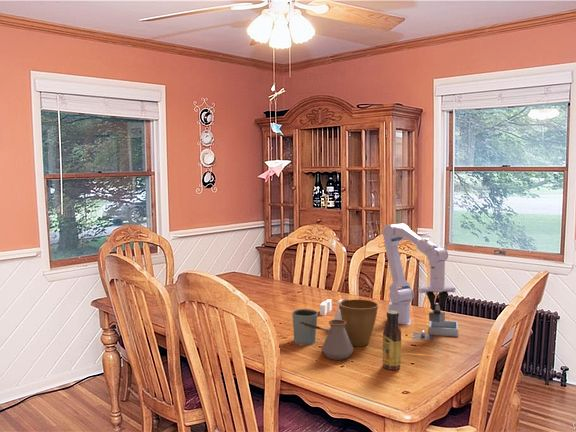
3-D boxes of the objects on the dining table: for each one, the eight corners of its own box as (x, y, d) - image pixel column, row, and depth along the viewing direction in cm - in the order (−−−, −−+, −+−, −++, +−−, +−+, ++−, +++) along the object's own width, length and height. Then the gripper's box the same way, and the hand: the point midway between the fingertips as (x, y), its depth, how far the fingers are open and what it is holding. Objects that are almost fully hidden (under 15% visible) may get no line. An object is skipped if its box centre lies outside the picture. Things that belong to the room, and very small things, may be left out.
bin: (429, 335, 216) (429, 327, 215) (430, 327, 226) (430, 319, 226) (457, 337, 213) (458, 329, 212) (457, 329, 223) (457, 321, 223)
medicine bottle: (355, 326, 230) (355, 299, 229) (350, 330, 224) (350, 303, 223) (339, 324, 233) (339, 297, 232) (334, 328, 227) (334, 301, 226)
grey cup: (288, 339, 213) (288, 310, 212) (311, 336, 217) (310, 307, 216) (299, 347, 204) (298, 317, 203) (322, 343, 208) (322, 313, 207)
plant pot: (373, 351, 198) (373, 310, 197) (335, 347, 203) (335, 306, 202) (381, 339, 212) (381, 300, 211) (344, 335, 217) (344, 297, 216)
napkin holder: (323, 318, 244) (322, 306, 244) (307, 313, 253) (307, 301, 253) (346, 312, 253) (346, 301, 253) (331, 307, 262) (330, 296, 262)
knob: (429, 320, 216) (429, 303, 216) (434, 318, 220) (434, 301, 219) (439, 322, 213) (439, 305, 213) (444, 320, 216) (444, 303, 216)
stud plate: (412, 340, 211) (412, 332, 210) (413, 334, 218) (413, 326, 218) (432, 341, 208) (432, 334, 208) (433, 335, 216) (433, 328, 216)
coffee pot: (343, 348, 202) (343, 310, 200) (359, 358, 191) (359, 318, 190) (292, 357, 193) (292, 317, 192) (306, 368, 183) (306, 326, 181)
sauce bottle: (380, 364, 185) (380, 309, 184) (397, 363, 186) (398, 308, 184) (385, 371, 179) (385, 314, 177) (403, 370, 179) (403, 313, 178)
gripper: (422, 279, 211) (422, 312, 212) (458, 278, 211) (457, 311, 213) (417, 275, 218) (417, 308, 219) (452, 275, 218) (451, 307, 220)
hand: (436, 309), depth 216 cm, fingers closed on knob, 3 cm apart
